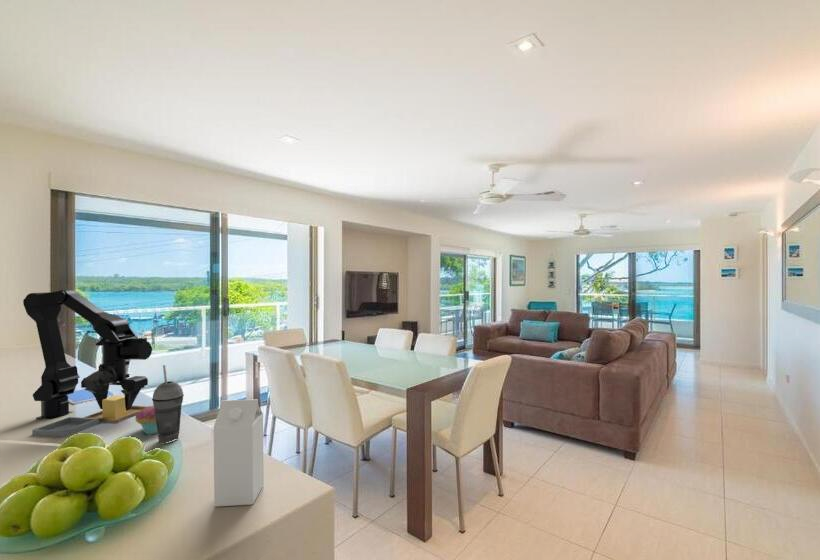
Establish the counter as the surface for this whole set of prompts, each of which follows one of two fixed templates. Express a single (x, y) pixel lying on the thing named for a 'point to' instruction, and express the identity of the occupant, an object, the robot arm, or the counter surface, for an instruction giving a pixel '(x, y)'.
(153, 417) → the cupcake
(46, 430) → the dish
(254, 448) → the milk carton
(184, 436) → the counter surface
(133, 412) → the tray
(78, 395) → the tablet computer
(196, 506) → the counter surface
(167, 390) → the beverage cup
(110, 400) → the block
